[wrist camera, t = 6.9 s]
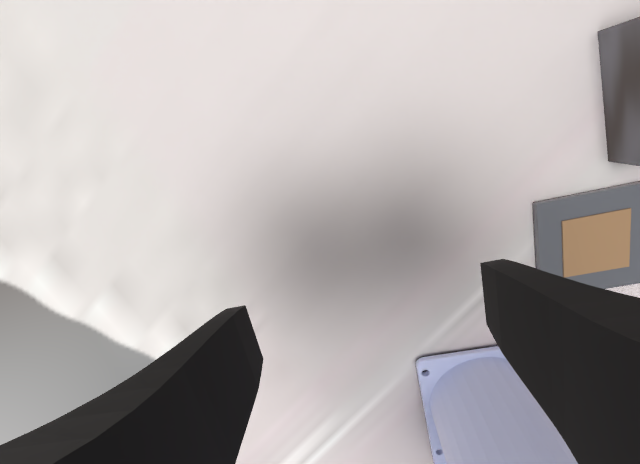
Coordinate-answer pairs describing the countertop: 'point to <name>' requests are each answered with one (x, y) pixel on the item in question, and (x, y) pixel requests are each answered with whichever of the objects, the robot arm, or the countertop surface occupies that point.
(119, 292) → the countertop surface
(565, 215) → the tile
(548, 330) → the robot arm
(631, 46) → the charcoal base block
